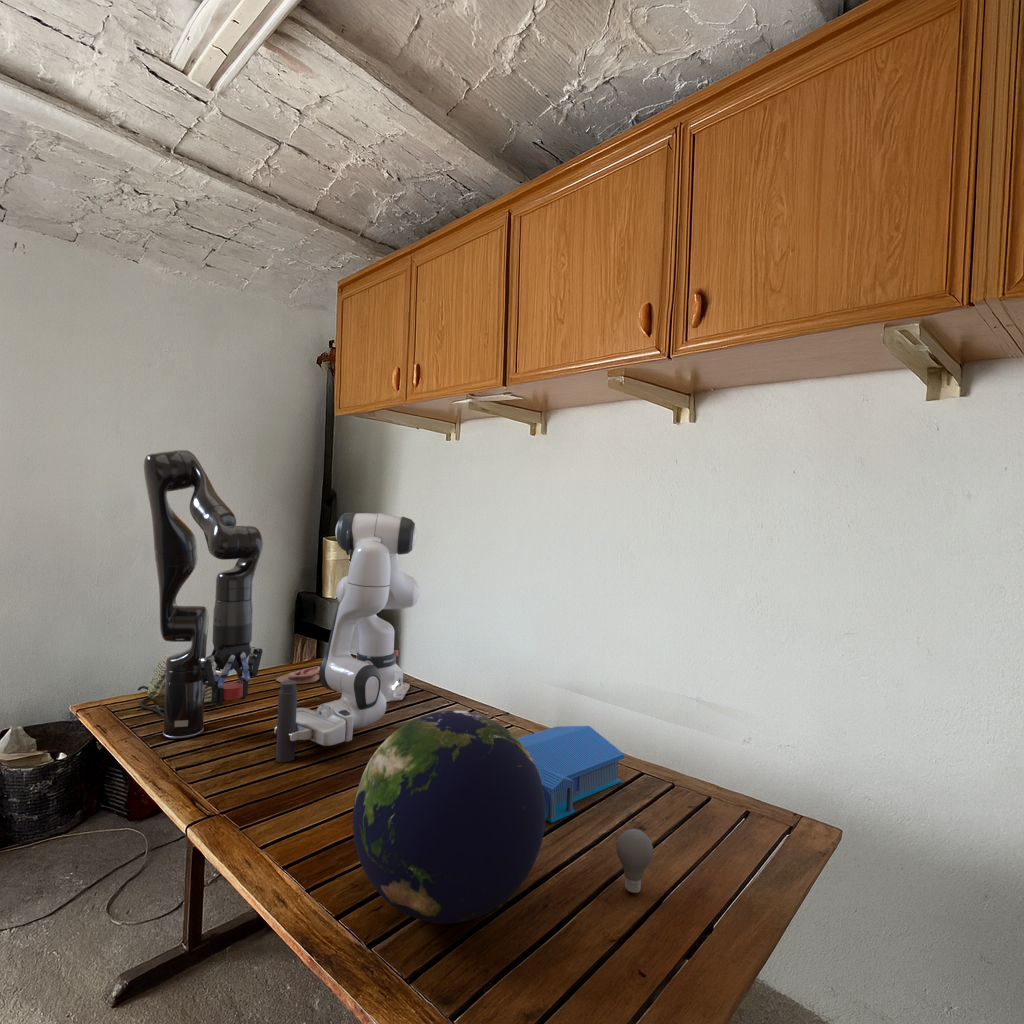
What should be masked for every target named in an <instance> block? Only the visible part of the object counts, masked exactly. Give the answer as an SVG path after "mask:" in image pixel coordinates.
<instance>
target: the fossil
mask: <svg viewBox="0 0 1024 1024" xmlns="http://www.w3.org/2000/svg"><path fill="white" fill-rule="evenodd" d="M171 655H172V654H165V655H164V656H163V657H162V658H161V659H160V660H159V662H158V663H157V666H156V667H155V669H154V670H153V672H152V675H151V677H150V680H149V684H148V687H149V688H148V690H147V697H149V698H150V699H149V700H150V701H152V703H153V704H154V706H155V709H158V710H160V711H161V712H163V711H164V705H165V674H166V660H167V658H168V657H170V656H171ZM211 698H212V687H210V686H207V685H205V693H204V707H207V706H213V705H214V704H213V702H212V700H211Z"/></svg>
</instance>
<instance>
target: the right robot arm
mask: <svg viewBox="0 0 1024 1024" xmlns="http://www.w3.org/2000/svg"><path fill="white" fill-rule="evenodd" d="M334 534H335V540H336V544H337V545H338V546H339V548H340V549H341V550H343V551H344V552H345V554H346V555H347V556H350V555H351V553H352V555H351V558H350V563H349V568H348V573H347V575H344V576H343V577H342V578H341V579H340V580H339V581H338V583H337V585H336V590H335V591H336V592H335V593H336V594H335V596H336V599H337V600H338V603H337V606H336V608H335V612H334V616H333V620H332V625H331V629H330V632H329V633H330V634H329V639H328V643H327V648H326V651H325V654H324V657H323V659H322V661H321V664H320V666H319V667H320V670H319V672H318V676H319V679H318V680H319V682H320V684H321V685H322V687H323V688H325V689H326V690H329V691H333V692H336V693H339V694H341V697H340V698H338V699H335V700H331V701H327V702H324V703H322V704H320V705H319V706H318V707H317V708H316V710H313V709H310V708H308V707H297V712H296V731H292V732H289V733H288V739H289V740H291V741H295V742H296V741H303V740H309V741H311V742H314V743H316V744H318V745H320V746H323V747H330V746H331V747H332V746H335V745H338V744H341V743H344V742H345V743H348V742H352V740H353V734H354V731H358V730H361V729H363V728H366V727H369V726H371V725H373V724H375V723H377V722H379V721H380V720H381V719H382V718H383V717H384V715H385V713H386V711H387V703H388V702H395V701H402V700H403V699H404V697H405V696H406V695H407V693H408V692H409V689H410V688H411V685H410V683H407V682H405V681H404V671H403V669H402V668H401V667H400V666H399V665H398V664H397V657H398V656H399V650H398V649H395V628H394V626H393V625H392V624H391V623H390V622H389V621H386V620H384V619H383V618H381V617H379V616H378V615H377V614H379V613H380V612H381V611H382V610H403V609H408V608H409V609H410V608H413V607H414V606H415V605H416V604H417V603H418V600H419V598H420V595H421V594H420V593H421V588H420V586H419V583H418V580H416V579H415V578H414V577H413V576H411V575H409V574H407V573H406V572H405V571H404V570H403V569H402V567H401V565H400V562H399V556H400V555H406V554H410V553H411V552H412V551H413V548H414V547H415V546H416V544H417V540H418V530H417V527H416V523H415V522H414V521H413V520H412V519H411V518H409V517H407V516H396V515H392V514H387V513H383V512H382V513H381V512H379V513H371V512H370V513H369V512H366V513H365V512H360V513H359V512H358V513H356V512H355V511H352V512H345V513H343V514H342V515H341V516H340V517H339V519H338V521H337V523H336V525H335V533H334ZM352 551H353V552H352ZM356 627H357V638H358V639H357V640H358V648H357V649H358V651H357V652H356V657H355V658H354V657H353V656H352V654H351V651H350V650H351V645H352V641H353V637H354V632H355V628H356ZM273 733H274V734H275V735H277V725H276V726H274V731H273Z"/></svg>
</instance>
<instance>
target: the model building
mask: <svg viewBox="0 0 1024 1024" xmlns="http://www.w3.org/2000/svg"><path fill="white" fill-rule="evenodd" d="M516 738H517V739H518V740H519V741H520V742H521V743H522V744H523V746H524V747H525V748H526V749H527V751H528V752H529V754H530V756H531V757H532V759H533V761H534V763H535V765H536V768H537V770H538V773H539V775H540V779H541V782H542V786H543V791H544V796H545V806H546V820H545V821H548V823H551V824H553V823H556V822H557V821H559V820H562V819H564V818H567V817H569V816H570V815H573V814H575V813H576V810H575V809H574V803H576V802H578V801H580V800H583V799H585V798H587V797H589V796H592V795H594V794H597V793H599V792H601V791H604V790H607V789H609V788H611V787H613V786H615V785H617V784H620V783H622V779H620V778H618V777H619V761H621V760H623V759H625V753H623V751H621V750H620V749H619V748H617V747H616V746H615V745H613V743H611V741H609V740H607V738H605V737H604V736H602V735H601V734H600V733H599V732H597V731H596V730H595V729H594V728H593V727H592V726H590V725H566V726H565V725H564V726H563V725H561V726H560V725H559V726H553V727H550V728H548V729H544V730H540V731H537V732H534V733H531V734H527V735H523V736H520V737H516Z"/></svg>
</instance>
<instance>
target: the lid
mask: <svg viewBox="0 0 1024 1024" xmlns="http://www.w3.org/2000/svg"><path fill="white" fill-rule="evenodd" d="M222 687H223V701H233V700H239V698H241V697H242V696H243V684H242V683H238V682H237V681H233V682H232V681H231V682H224V684H223V686H222Z"/></svg>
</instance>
